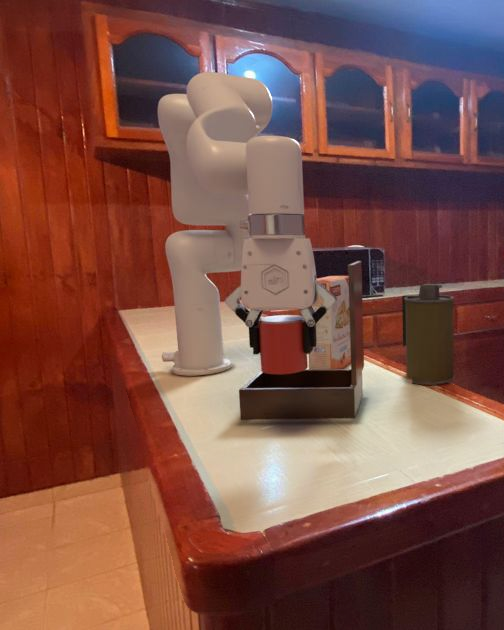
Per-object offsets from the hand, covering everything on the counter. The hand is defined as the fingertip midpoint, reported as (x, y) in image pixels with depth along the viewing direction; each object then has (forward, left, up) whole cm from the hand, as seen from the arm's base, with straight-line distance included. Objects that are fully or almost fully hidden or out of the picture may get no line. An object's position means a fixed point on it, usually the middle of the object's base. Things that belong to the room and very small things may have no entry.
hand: (283, 351), depth 77 cm
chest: (0, +13, -13) cm, 19 cm away
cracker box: (0, +43, -14) cm, 45 cm away
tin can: (0, 0, -3) cm, 3 cm away
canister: (+22, +33, -14) cm, 42 cm away
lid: (+9, +13, +2) cm, 16 cm away
